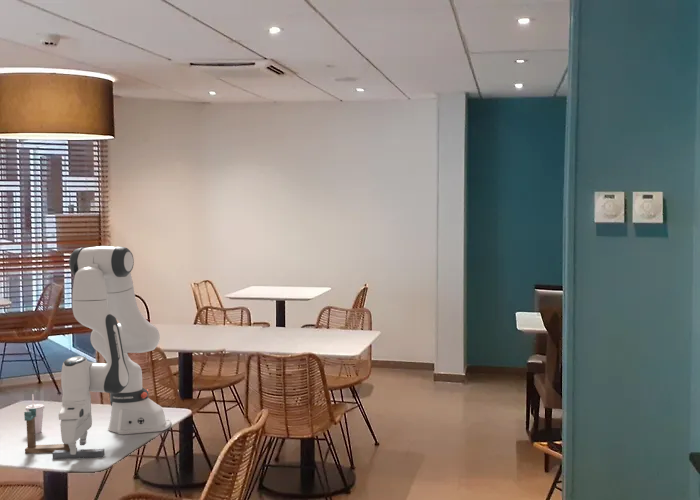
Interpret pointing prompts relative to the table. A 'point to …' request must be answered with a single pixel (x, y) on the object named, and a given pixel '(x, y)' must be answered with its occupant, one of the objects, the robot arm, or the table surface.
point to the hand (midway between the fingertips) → (78, 449)
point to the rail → (78, 454)
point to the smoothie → (37, 414)
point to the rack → (32, 439)
